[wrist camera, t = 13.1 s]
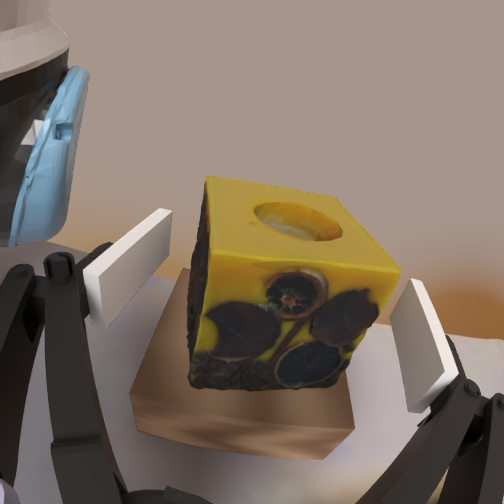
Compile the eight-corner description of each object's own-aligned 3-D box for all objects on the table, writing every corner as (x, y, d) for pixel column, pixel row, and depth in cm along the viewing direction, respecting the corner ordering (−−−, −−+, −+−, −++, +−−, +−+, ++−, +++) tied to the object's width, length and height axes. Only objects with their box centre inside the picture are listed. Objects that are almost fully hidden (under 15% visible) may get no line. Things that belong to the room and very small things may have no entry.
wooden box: (138, 433, 19) (129, 393, 16) (179, 315, 31) (183, 267, 28) (320, 461, 19) (354, 428, 16) (310, 340, 31) (330, 297, 28)
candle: (186, 288, 25) (201, 173, 20) (300, 297, 27) (335, 194, 23) (185, 392, 17) (199, 250, 12) (336, 389, 19) (407, 271, 14)
